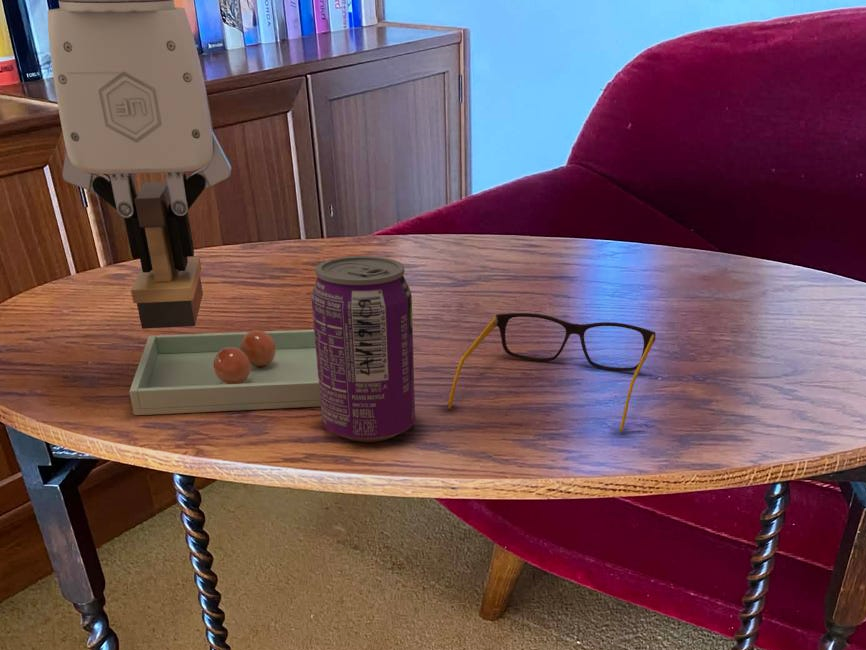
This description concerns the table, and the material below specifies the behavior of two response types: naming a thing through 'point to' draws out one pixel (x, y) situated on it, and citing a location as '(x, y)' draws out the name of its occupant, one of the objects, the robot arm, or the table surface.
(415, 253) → the table surface
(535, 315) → the eyeglasses
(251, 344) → the bead
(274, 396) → the tray
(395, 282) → the beverage can
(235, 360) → the bead
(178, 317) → the brush
